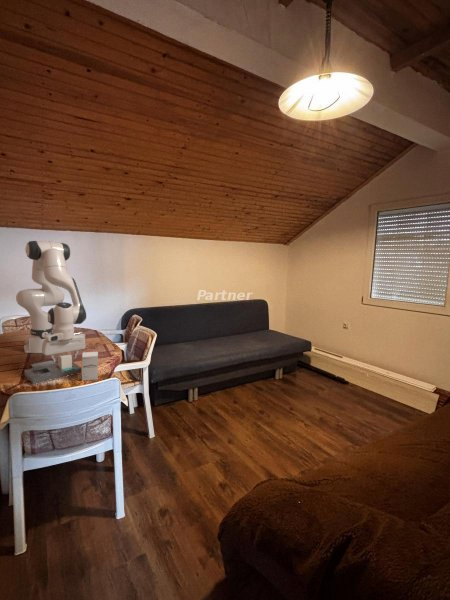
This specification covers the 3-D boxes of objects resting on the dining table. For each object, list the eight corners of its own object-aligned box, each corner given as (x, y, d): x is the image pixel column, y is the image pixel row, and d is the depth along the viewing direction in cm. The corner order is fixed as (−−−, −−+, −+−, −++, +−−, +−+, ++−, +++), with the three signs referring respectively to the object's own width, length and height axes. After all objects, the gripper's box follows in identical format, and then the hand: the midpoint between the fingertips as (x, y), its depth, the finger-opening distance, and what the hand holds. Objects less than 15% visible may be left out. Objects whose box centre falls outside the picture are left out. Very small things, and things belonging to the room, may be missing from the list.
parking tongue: (31, 366, 161) (31, 364, 161) (51, 362, 168) (51, 360, 168) (36, 371, 155) (36, 369, 155) (57, 367, 162) (57, 364, 162)
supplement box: (81, 381, 146) (81, 356, 144) (82, 375, 153) (82, 352, 151) (97, 379, 149) (98, 355, 147) (97, 374, 156) (97, 351, 154)
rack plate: (24, 375, 149) (24, 369, 148) (70, 365, 165) (70, 360, 164) (33, 384, 139) (32, 378, 139) (81, 373, 156) (81, 367, 155)
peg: (58, 371, 156) (57, 355, 155) (68, 369, 160) (68, 353, 159) (61, 374, 153) (61, 357, 152) (72, 372, 156) (71, 355, 155)
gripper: (82, 330, 163) (82, 354, 165) (40, 335, 148) (41, 362, 150) (87, 332, 159) (87, 357, 161) (44, 338, 144) (45, 366, 146)
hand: (64, 360), depth 155 cm, fingers open, 8 cm apart
